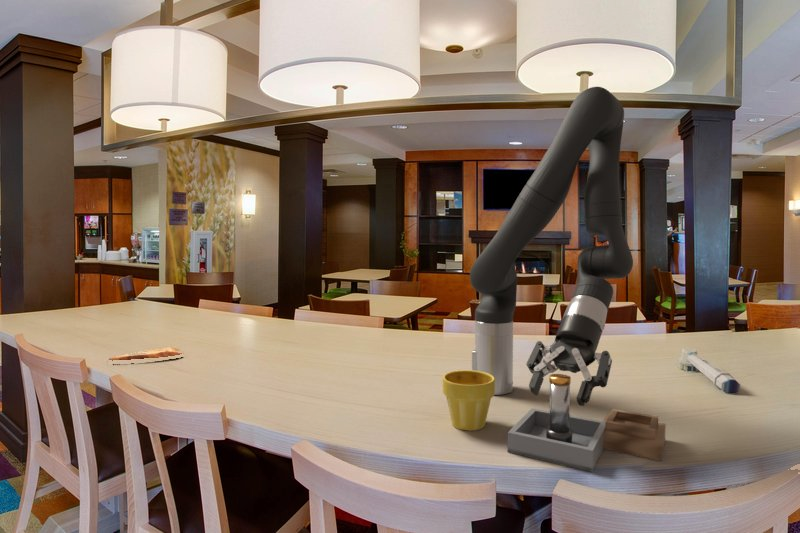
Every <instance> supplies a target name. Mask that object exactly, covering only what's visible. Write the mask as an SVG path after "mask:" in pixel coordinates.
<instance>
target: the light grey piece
mask: <svg viewBox="0 0 800 533" xmlns="http://www.w3.org/2000/svg"><path fill="white" fill-rule="evenodd" d="M677 362H678V368H679V370H681V369H682V371H685V370H687V371H686V372H689V371H696V372H698V371H700V372H699V373H702V375H703V376H705V377H706V378H707V379H708V380H710V381H711V382H712V383H713V386H715V387H716V388H717V390H721V391H722V392H723V393H725V394H726V393H736V394H737V393H738V392H740V390H741V384H740V383H739V382H738V381H737V380H736V379H735V378H734V377H733V376H732V375H731V373H729V372H725V371H723V370H722V369H721V368H720V367H718V366H716V365H714V364H713V363H711V362H709V361H708V360H706V359H704V358H703V357H702V356H700V355H698V352H697V349H695V348H692V347H684V348H683V347H682V350H681V355H679V356H677Z"/></svg>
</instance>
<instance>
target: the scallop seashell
mask: <svg viewBox="0 0 800 533" xmlns="http://www.w3.org/2000/svg"><path fill="white" fill-rule="evenodd" d="M143 351H144V350H141V351H135V352H131V354H132V353H136V352H138V353H141V352H142V353H146V354H142V355H132V356H129V355H128V354H129V353H126V354H125V353H124V354H122V355H116V356H112V357H109V359H108V360H112V361H113V360H131V359H144V358H159V357H168V356H175V355H180V354H182V353H183V352H182V353H178V352H175V351H181V350H180V349H177V348H176V347H173V346H170V347H162V348H161V347H159V348H152V349H147V350H146V349H145V351H148V352H143Z"/></svg>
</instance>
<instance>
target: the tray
mask: <svg viewBox="0 0 800 533" xmlns="http://www.w3.org/2000/svg"><path fill="white" fill-rule="evenodd" d="M549 418H550V410H542V409H538V408H537V409H536V408H533V407H532V408H530V409H529V410H528V412H527V413H526V414H525V415H524V416H522V417H521V419H520V420H519V421H517V422H516V423H515V425H513V427H512V428H510V430H509V431H508V432H507V452H508V453H510V454H515V455H518V456H522V457H527V458H532V459H536V460H540V461H544V462H548V463H553V464H556V465H557V464H558V465H561V466H565V467H570V468H574V469H576V470H577V469H578V470H581V471H586V472H590V473H591V472H592V473H593V472H594V471H595V468H596V466H597V463H598V462H599V459H600V457H601V455H602V453H603V451H604V450H605V449H604V431H605V426H606V422H604V421H603V420H598V419H592V418H588V417H583V416H577V415H570V420H569V428H570V429H571V430H572V444H571V443H566V442H562V441H557V440H552V439H548V438H546V428H547V427H548V426H549Z"/></svg>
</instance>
